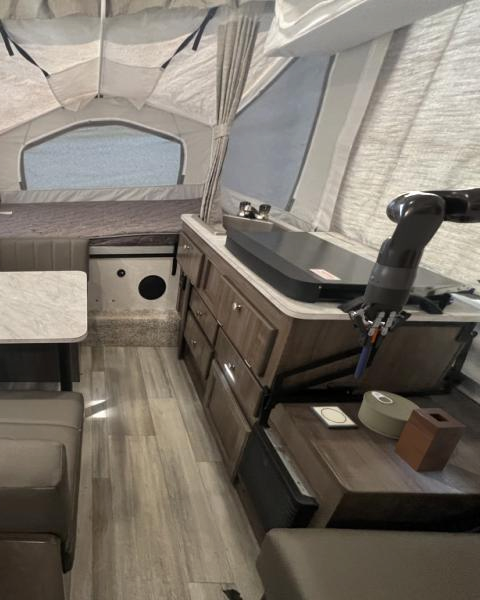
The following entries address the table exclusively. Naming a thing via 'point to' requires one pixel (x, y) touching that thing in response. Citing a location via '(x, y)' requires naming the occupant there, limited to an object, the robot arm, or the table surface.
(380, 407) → the can
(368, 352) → the marker
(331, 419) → the drawing pad
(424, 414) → the pen stand
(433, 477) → the table surface
